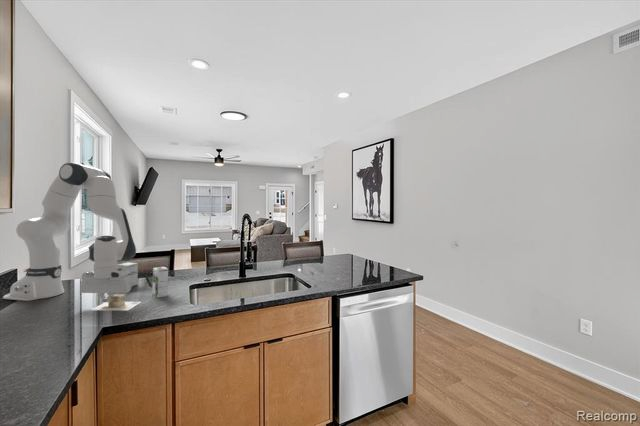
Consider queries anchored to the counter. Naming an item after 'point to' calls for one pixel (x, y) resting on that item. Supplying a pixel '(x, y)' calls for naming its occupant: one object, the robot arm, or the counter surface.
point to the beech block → (116, 300)
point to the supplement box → (131, 271)
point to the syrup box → (160, 282)
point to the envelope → (125, 307)
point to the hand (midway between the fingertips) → (106, 302)
